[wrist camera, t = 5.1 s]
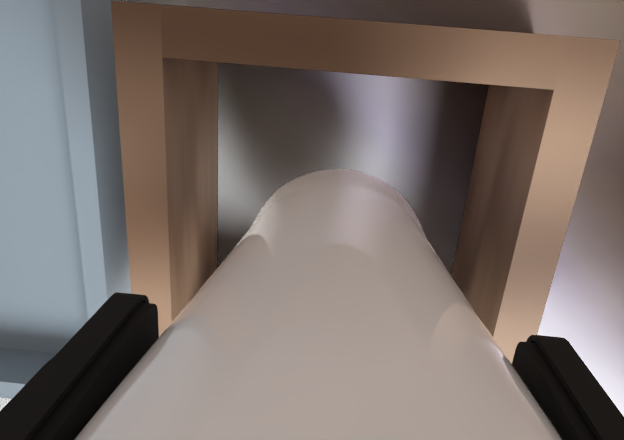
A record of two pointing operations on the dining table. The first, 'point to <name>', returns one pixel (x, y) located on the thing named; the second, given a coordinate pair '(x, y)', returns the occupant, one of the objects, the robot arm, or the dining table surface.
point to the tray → (57, 179)
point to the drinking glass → (326, 337)
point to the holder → (372, 61)
